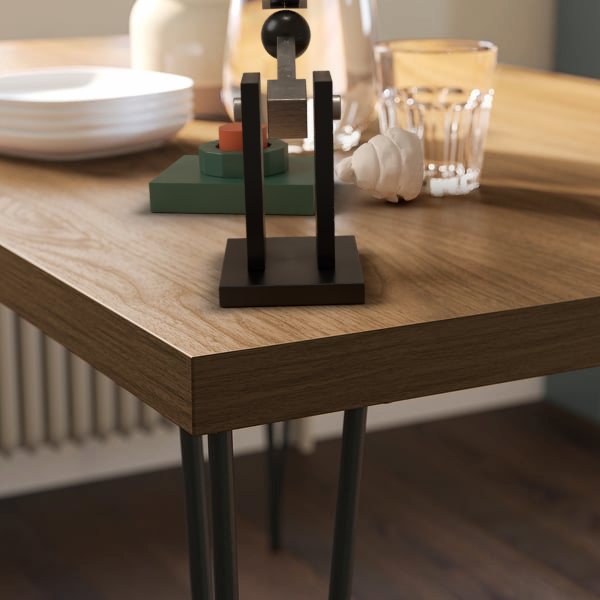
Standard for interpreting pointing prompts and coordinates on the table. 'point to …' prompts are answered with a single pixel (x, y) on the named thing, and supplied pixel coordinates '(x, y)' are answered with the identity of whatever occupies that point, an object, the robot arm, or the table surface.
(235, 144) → the button
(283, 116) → the lever
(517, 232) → the table surface
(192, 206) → the button block
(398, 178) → the spiral seashell
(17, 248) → the table surface
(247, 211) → the bracket
